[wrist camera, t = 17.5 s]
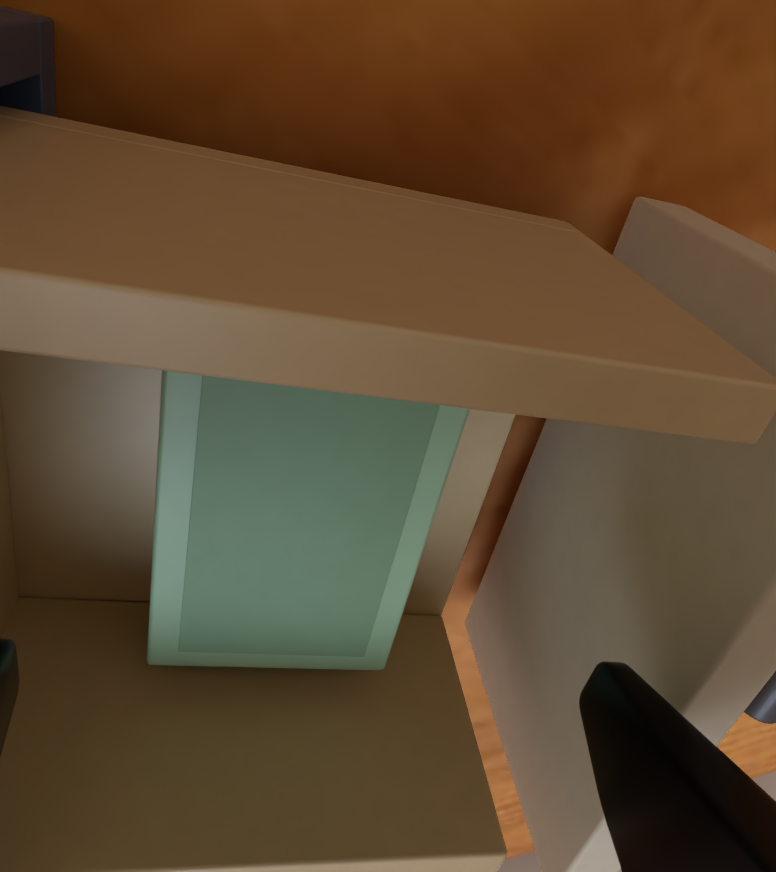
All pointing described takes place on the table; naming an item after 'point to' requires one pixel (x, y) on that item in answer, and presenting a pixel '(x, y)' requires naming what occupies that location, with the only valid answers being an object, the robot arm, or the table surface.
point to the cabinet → (27, 62)
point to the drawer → (450, 531)
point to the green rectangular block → (289, 522)
